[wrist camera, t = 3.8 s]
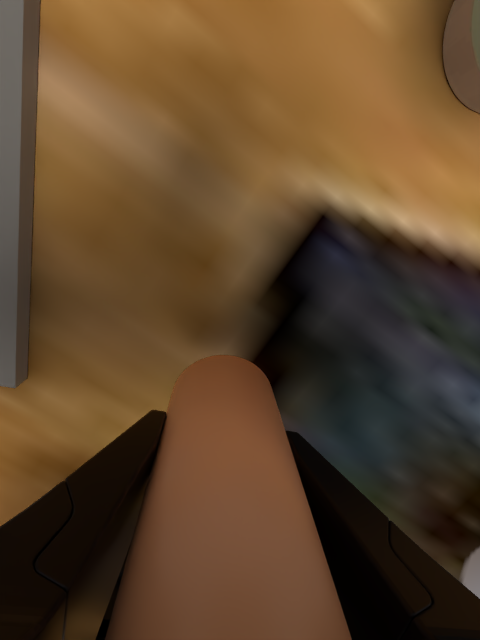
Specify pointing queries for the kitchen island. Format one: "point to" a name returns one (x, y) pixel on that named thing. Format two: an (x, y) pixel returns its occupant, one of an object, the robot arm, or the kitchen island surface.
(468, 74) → the coffee cup
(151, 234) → the kitchen island surface
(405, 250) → the kitchen island surface
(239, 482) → the brown peg
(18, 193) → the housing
